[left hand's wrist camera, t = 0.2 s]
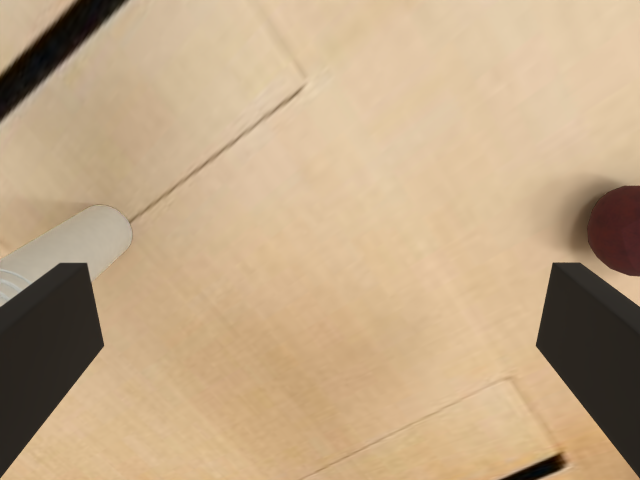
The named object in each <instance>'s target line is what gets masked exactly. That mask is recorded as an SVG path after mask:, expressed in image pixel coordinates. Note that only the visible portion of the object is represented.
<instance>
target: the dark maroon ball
mask: <svg viewBox="0 0 640 480" xmlns="http://www.w3.org/2000/svg"><path fill="white" fill-rule="evenodd" d="M587 230H588V242H589V244H590V247H591V248H592V250H593V251H594V253H595V255H596V256H597V257H598V258H599V259H600V260H601V261H602V262H603V263H604V264H606V265H607V266H608V267H609V268H610V269H613V270H615V271H618V272H621V273H624V274H626V275H629V276H640V186H623V187H620V188H617V189H615V190H612V191H610V192H608V193H607V194H605V195H604V196H603V197H602V198H601V199H599V200H598V202H597V203H596V205H595V207H594V208H593V210H592V213H591V216H590V220H589V223H588V227H587Z"/></svg>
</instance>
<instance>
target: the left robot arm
mask: <svg viewBox="0 0 640 480" xmlns="http://www.w3.org/2000/svg"><path fill="white" fill-rule="evenodd" d="M103 347H104V342H103V338H102V333H101V328H100V323H99V318H98V313H97V308H96V303H95V298H94V294H93V289H92V284H91V279H90V274H89V269H88V264H87V263H59V264H58V265H56V266H55V267H54V268H52V269H51V270H49V271H48V272H47V273H45V274H44V275H43V276H41V277H40V278H39V279H37V280H36V281H35V282H33V283H32V284H31V285H29V286H28V287H26V288H25V289H24V290H22V291H21V292H20V293H18V294H17V295H16V296H14V297H13V298H12V299H10V300H9V301H8V302H6V303H5V304H4V305H2V306H1V307H0V478H1V477H2V475H3V474H4V473H5V472H6V470H7V469H8V468H9V467H10V465H11V464H12V463H13V461H14V460H15V459H16V458H17V456H18V455H19V454H20V453H21V451H22V450H23V449H24V447H25V446H26V445H27V444H28V442H29V441H30V440H31V438H32V437H33V436H34V435H35V433H36V432H37V431H38V430H39V428H40V427H41V426H42V424H43V423H44V422H45V421H46V419H47V418H48V417H49V416H50V414H51V413H52V412H53V410H54V409H55V408H56V407H57V405H58V404H59V403H60V401H61V400H62V399H63V398H64V396H65V395H66V394H67V393H68V391H69V390H70V389H71V387H72V386H73V385H74V384H75V382H76V381H77V380H78V378H79V377H80V376H81V375H82V373H83V372H84V371H85V370H86V368H87V367H88V366H89V364H90V363H91V362H92V361H93V359H94V358H95V357H96V356H97V354H98V353H99V352H100V350H101V349H102V348H103ZM536 347H537V348H538V349H539V350H540V352H541V353H542V354H543V356H544V357H545V358H546V359H547V361H548V362H549V363H550V364H551V366H552V367H553V368H554V370H555V371H556V372H557V373H558V375H559V376H560V377H561V378H562V380H563V381H564V382H565V384H566V385H567V386H568V387H569V389H570V390H571V391H572V393H573V394H574V395H575V396H576V398H577V399H578V400H579V401H580V403H581V404H582V405H583V407H584V408H585V409H586V410H587V412H588V413H589V414H590V416H591V417H592V418H593V419H594V421H595V422H596V423H597V424H598V426H599V427H600V428H601V430H602V431H603V432H604V433H605V435H606V436H607V437H608V438H609V440H610V441H611V442H612V444H613V445H614V446H615V447H616V449H617V450H618V451H619V453H620V454H621V455H622V456H623V458H624V459H625V460H626V461H627V463H628V464H629V465H630V467H631V468H632V469H633V470H634V472H635V473H636V474H637V475H638V477H639V478H640V307H639V306H638V305H636V304H635V303H634V302H632V301H631V300H630V299H628V298H627V297H626V296H624V295H623V294H622V293H620V292H619V291H618V290H616V289H615V288H614V287H612V286H611V285H609V284H608V283H607V282H605V281H604V280H603V279H601V278H600V277H599V276H597V275H596V274H595V273H593V272H592V271H591V270H589V269H588V268H586V267H585V266H584V265H582V264H581V263H553V264H552V269H551V274H550V279H549V284H548V289H547V294H546V298H545V303H544V308H543V313H542V318H541V323H540V328H539V333H538V337H537V342H536Z"/></svg>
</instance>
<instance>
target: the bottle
mask: <svg viewBox="0 0 640 480" xmlns="http://www.w3.org/2000/svg"><path fill="white" fill-rule="evenodd" d="M131 241H132V229H131V226H130V224H129V222H128V220H127V219H126V217H125V216H124V215H123V214H122V213H121V212H119V211H118V210H116V209H114V208H112V207H109V206H106V205H94V206H90V207H88V208H86V209H85V210H83V211H81V212H80V213H78V214H76V215H75V216H73V217H71V218H69V219H68V220H66V221H64V222H63V223H61V224H59V225H58V226H56V227H54V228H53V229H51V230H49V231H47V232H46V233H44V234H42V235H41V236H39V237H37V238H36V239H34V240H32V241H31V242H29V243H27V244H25V245H24V246H22V247H20V248H19V249H17V250H15V251H14V252H12V253H10V254H9V255H7V256H5V257H3V258H2V259H0V307H1V306H2V305H4V304H5V303H6V302H8V301H9V300H10V299H12V298H13V297H14V296H16V295H17V294H18V293H20V292H21V291H22V290H24V289H25V288H26V287H28V286H29V285H31V284H32V283H33V282H35V281H36V280H37V279H39V278H40V277H41V276H43V275H44V274H45V273H47V272H48V271H49V270H51V269H52V268H54V267H55V266H56V265H58V264H59V263H87V264H88V269H89V274H90V279H91V282H92V281H94V280H95V279H96V278H97V277H98V276H99V275H100V274H101V273H102V272H103V271H104V270H105V269H106V268H108V267H109V266H110V265H111V264H112V263H113V262H114V261H115V260H116V259H117V258H118V257H119V256H120V255H122V254H123V253H124V252H125V251H126V250H127V249H128V247H129V246H130V244H131Z"/></svg>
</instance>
